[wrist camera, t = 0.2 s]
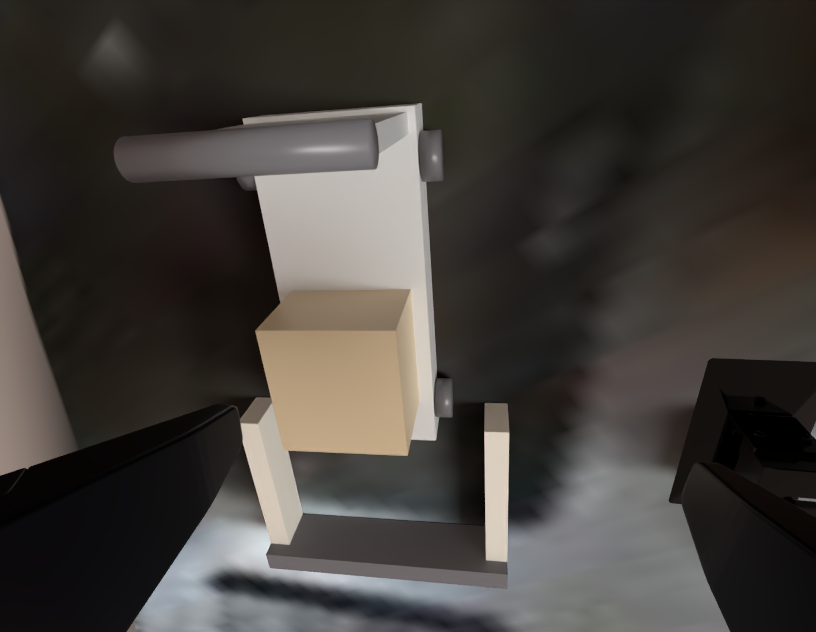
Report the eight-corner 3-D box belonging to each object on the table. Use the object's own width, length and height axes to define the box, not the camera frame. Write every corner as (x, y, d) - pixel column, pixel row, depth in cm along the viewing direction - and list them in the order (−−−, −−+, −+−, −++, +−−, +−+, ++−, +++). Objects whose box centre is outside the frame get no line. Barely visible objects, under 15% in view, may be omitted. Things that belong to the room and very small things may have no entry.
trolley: (247, 116, 21) (75, 141, 12) (442, 101, 20) (405, 117, 11) (306, 410, 28) (223, 561, 19) (454, 414, 27) (438, 580, 18)
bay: (256, 397, 28) (230, 432, 25) (507, 403, 26) (509, 443, 23) (289, 525, 33) (269, 568, 30) (505, 540, 30) (507, 588, 27)
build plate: (777, 525, 27) (827, 603, 23) (641, 512, 28) (666, 584, 24) (862, 331, 22) (946, 389, 18) (689, 324, 23) (732, 376, 19)
